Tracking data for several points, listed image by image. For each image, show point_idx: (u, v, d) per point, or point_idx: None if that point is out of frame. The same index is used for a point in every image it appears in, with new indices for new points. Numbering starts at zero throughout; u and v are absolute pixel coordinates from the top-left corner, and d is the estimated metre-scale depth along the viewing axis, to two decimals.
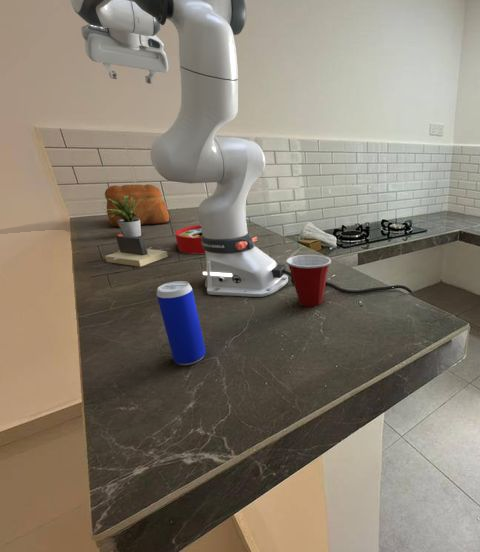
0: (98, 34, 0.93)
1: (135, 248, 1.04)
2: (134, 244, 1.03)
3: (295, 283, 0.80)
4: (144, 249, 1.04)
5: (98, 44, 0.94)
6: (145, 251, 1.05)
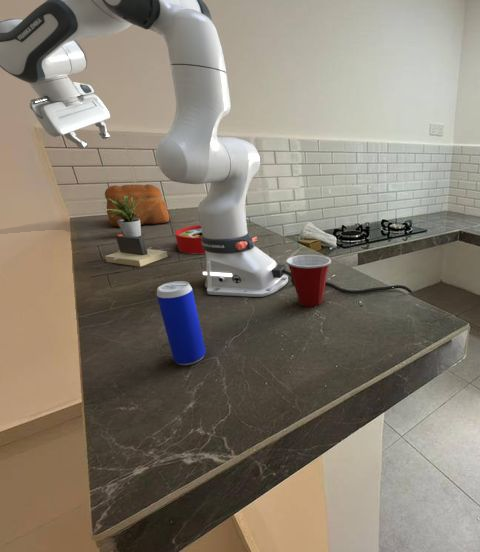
0: (45, 104, 0.87)
1: (135, 248, 1.04)
2: (134, 244, 1.03)
3: (295, 283, 0.80)
4: (144, 249, 1.04)
5: (53, 113, 0.88)
6: (145, 251, 1.05)
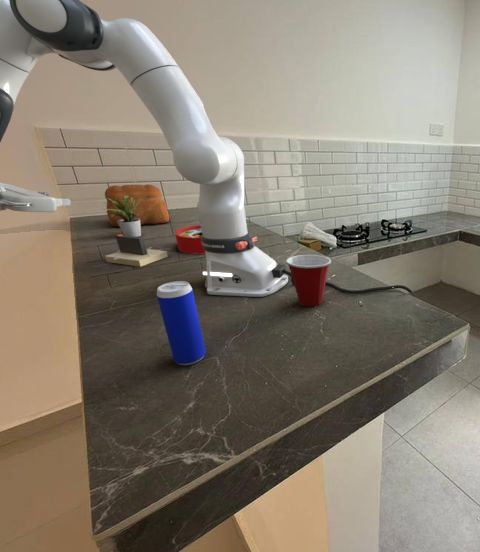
0: (7, 197, 0.75)
1: (135, 248, 1.04)
2: (134, 244, 1.03)
3: (295, 283, 0.80)
4: (144, 249, 1.04)
5: (23, 195, 0.76)
6: (145, 251, 1.05)
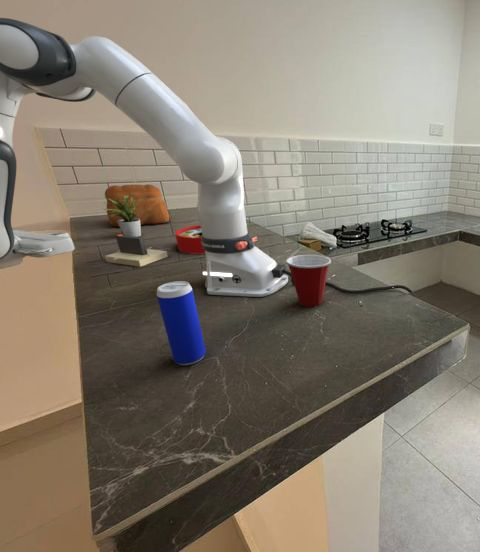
0: (29, 246, 0.77)
1: (135, 248, 1.04)
2: (134, 244, 1.03)
3: (295, 283, 0.80)
4: (144, 249, 1.04)
5: (41, 241, 0.79)
6: (145, 251, 1.05)
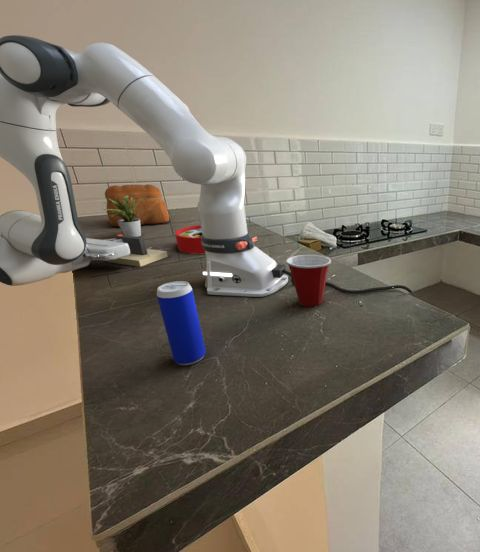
0: (96, 251, 0.92)
1: (135, 248, 1.04)
2: (134, 244, 1.03)
3: (295, 283, 0.80)
4: (144, 249, 1.04)
5: (105, 246, 0.93)
6: (145, 251, 1.05)
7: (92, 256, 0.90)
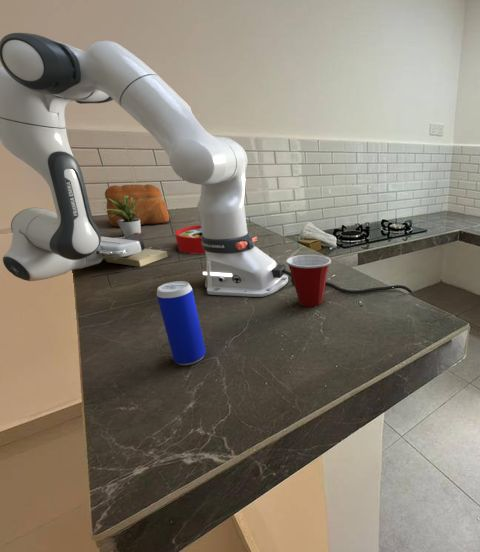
0: (109, 248, 0.94)
1: None
2: None
3: (295, 283, 0.80)
4: None
5: (118, 244, 0.96)
6: None
7: (105, 253, 0.93)
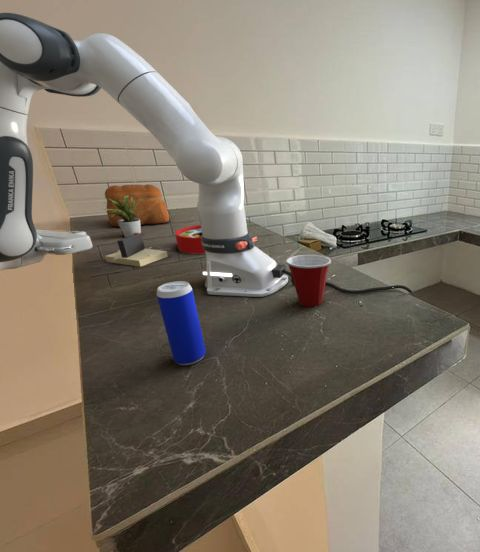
0: (50, 244, 0.80)
1: None
2: None
3: (295, 283, 0.80)
4: (123, 252, 1.01)
5: (61, 239, 0.82)
6: (125, 255, 1.01)
7: (45, 250, 0.79)
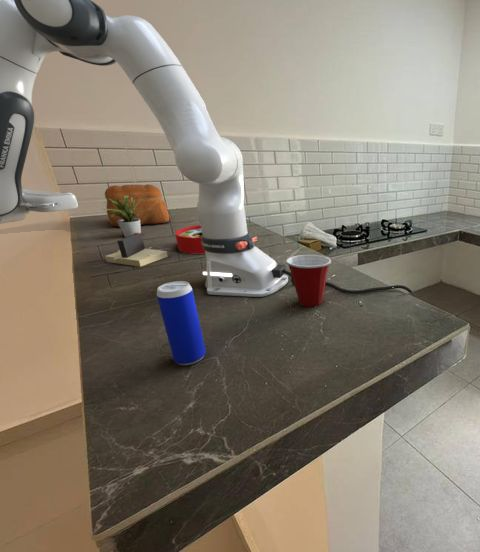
0: (32, 200, 0.76)
1: None
2: None
3: (295, 283, 0.80)
4: (123, 252, 1.01)
5: (45, 195, 0.78)
6: (125, 255, 1.01)
7: (26, 205, 0.75)
